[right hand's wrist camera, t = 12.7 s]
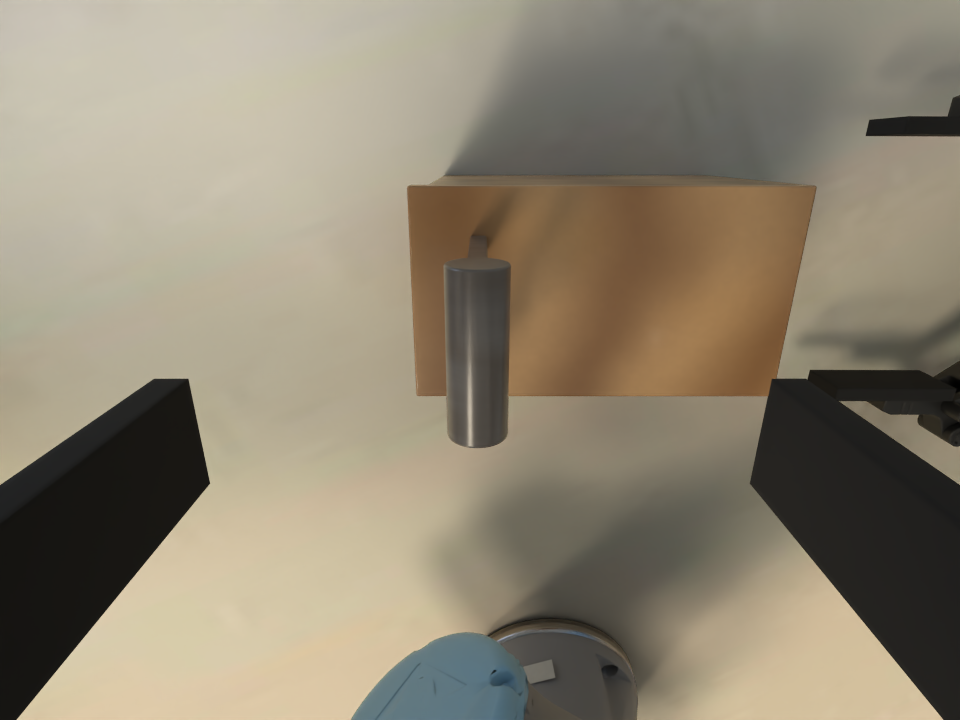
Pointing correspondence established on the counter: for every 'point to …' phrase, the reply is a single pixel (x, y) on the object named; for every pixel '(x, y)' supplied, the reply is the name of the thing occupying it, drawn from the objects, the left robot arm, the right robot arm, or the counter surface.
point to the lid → (598, 292)
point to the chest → (596, 180)
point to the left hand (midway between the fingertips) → (850, 266)
